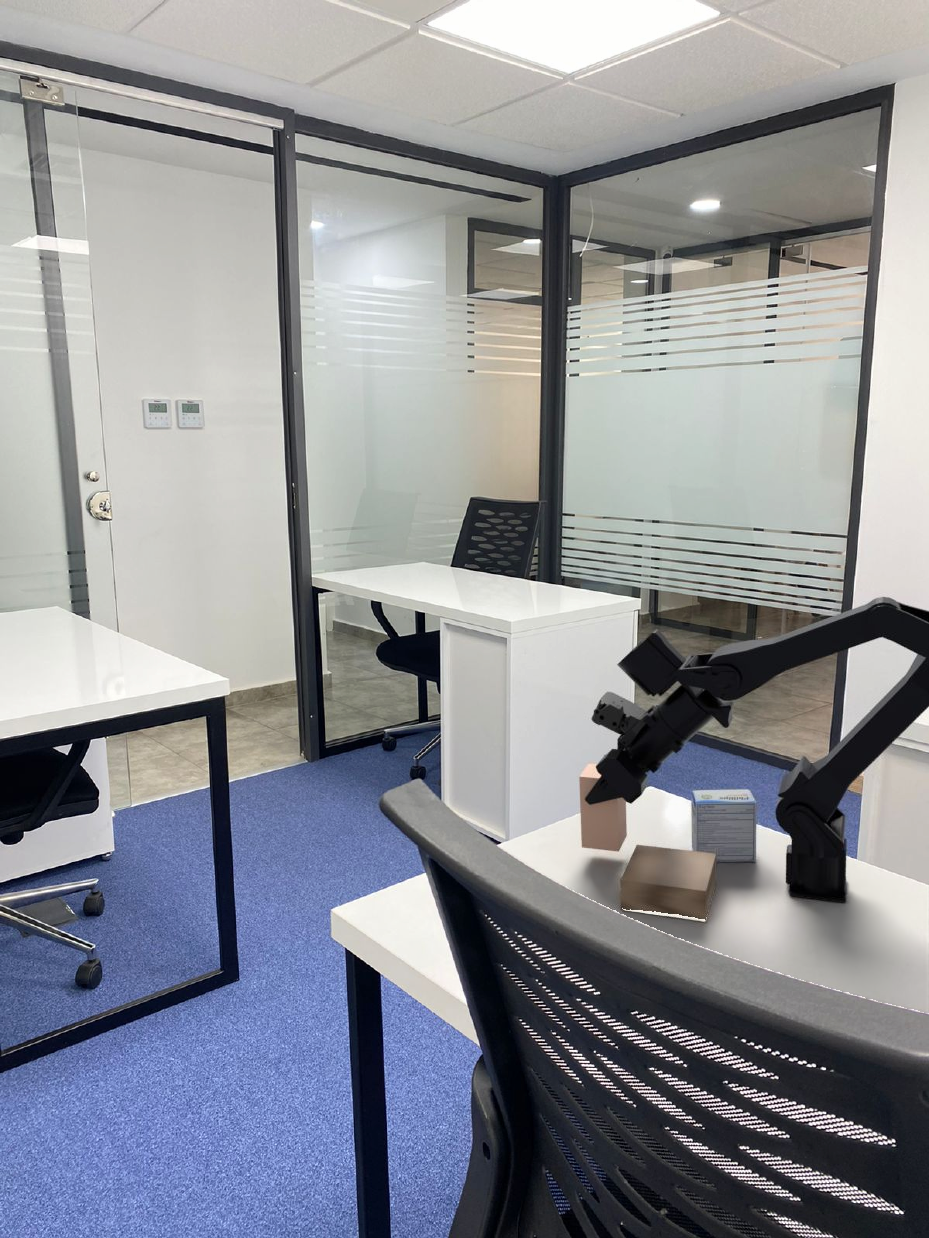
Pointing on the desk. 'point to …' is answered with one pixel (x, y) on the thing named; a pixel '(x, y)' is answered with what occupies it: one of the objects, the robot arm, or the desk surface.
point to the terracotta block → (601, 816)
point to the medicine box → (724, 824)
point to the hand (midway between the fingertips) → (592, 794)
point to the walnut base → (669, 881)
